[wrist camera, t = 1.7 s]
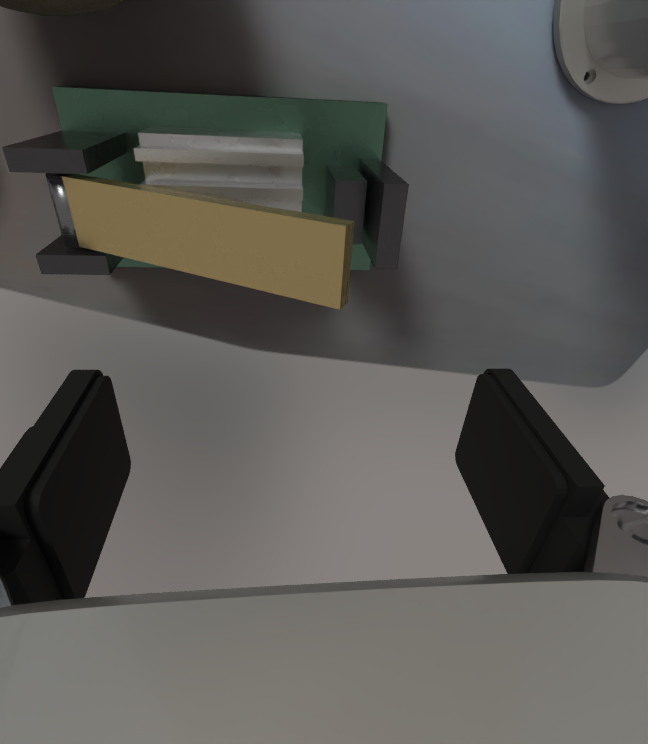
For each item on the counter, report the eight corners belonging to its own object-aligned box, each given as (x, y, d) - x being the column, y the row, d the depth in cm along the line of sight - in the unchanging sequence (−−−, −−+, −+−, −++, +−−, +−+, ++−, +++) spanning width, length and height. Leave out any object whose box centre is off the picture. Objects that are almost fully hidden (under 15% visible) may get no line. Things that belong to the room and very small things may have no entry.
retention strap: (356, 219, 21) (343, 227, 20) (350, 300, 23) (337, 312, 22) (63, 170, 27) (38, 174, 26) (80, 237, 29) (58, 243, 28)
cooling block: (383, 102, 32) (422, 113, 24) (366, 263, 39) (392, 319, 30) (60, 86, 30) (-27, 91, 22) (100, 259, 37) (46, 318, 28)
